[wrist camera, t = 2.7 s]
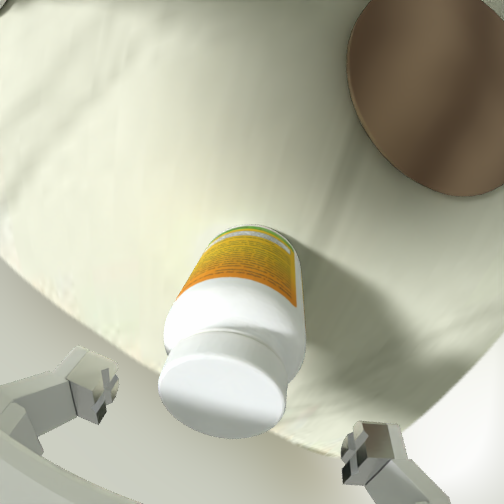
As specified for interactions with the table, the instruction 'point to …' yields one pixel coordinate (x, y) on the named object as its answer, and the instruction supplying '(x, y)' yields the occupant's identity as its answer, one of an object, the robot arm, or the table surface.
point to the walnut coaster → (432, 90)
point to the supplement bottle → (235, 335)
